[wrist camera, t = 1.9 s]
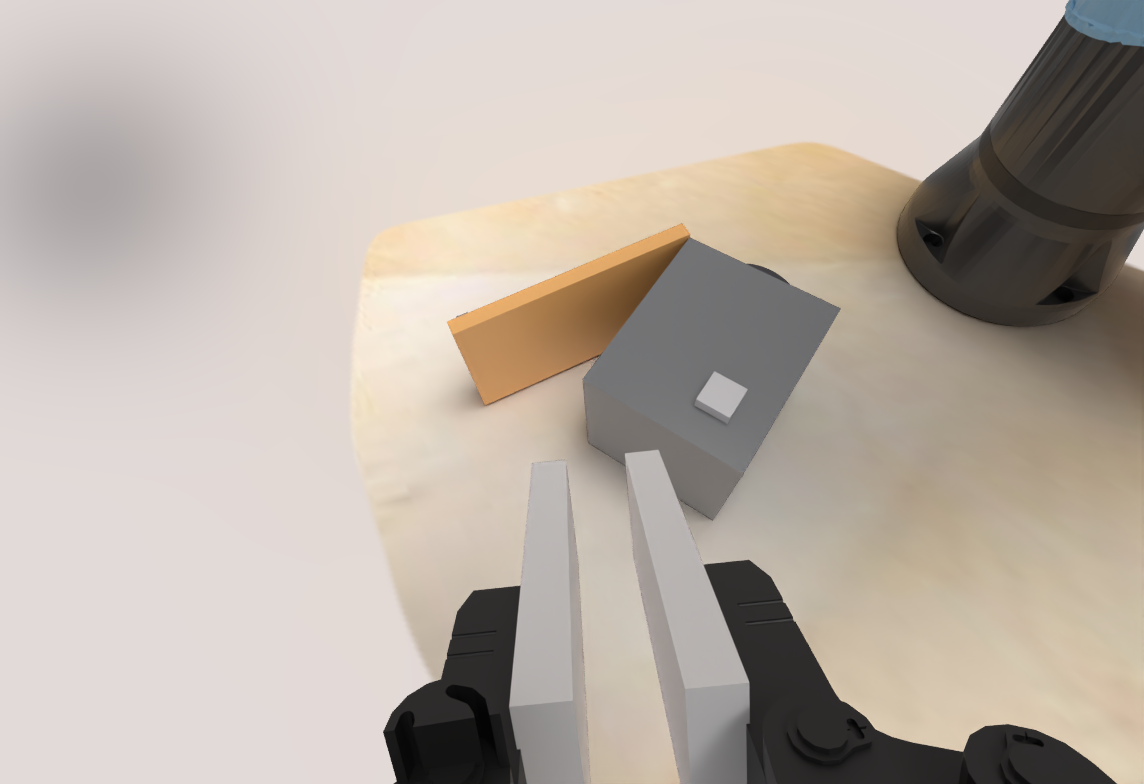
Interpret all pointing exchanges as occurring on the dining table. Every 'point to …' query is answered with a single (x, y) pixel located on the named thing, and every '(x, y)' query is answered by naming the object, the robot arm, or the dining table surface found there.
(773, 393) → the block
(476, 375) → the side door
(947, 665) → the dining table surface
